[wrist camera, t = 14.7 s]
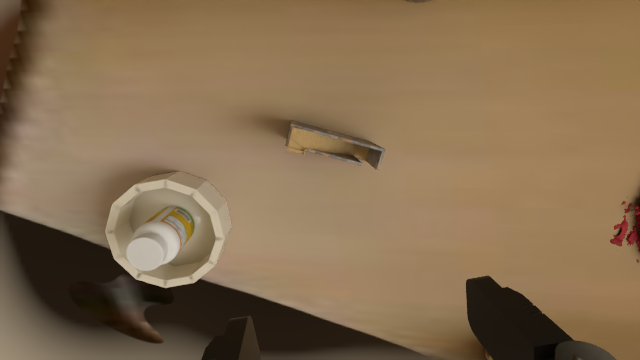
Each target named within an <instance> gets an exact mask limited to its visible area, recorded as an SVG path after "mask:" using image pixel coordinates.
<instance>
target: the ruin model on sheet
mask: <svg viewBox="0 0 640 360" xmlns="http://www.w3.org/2000/svg"><path fill="white" fill-rule="evenodd" d="M291 132H292V133H291ZM285 146H288V148H287V151H292V152H296V153H300V154H305V151H309V152H313V153H316V154H320V155H324V156H328V157H332V158H335V159H339V160H343V161H347V162H350V163H354V164H358V165H360V166H361V164H362V163H361V162H360V161H359V160H358V159H357V158H359V159H363V160H364V161H367V162H368V163H369V164H370V165H371V166H372V167H374V168H375V169H376V170H379V168H380V165H381V162H382V159H383V156H384V152H385V149H384V148H382V147H380V146H378V145H376V144H374V143H372V142H369V141H365V140H362V139H358V138H354V137H351V136H347V135H343V134H340V133H336V132H333V131H329V130H325V129H322V128H318V127H314V126H311V125H307V124H303V123H300V122H296V121H293V120H292V122H291V126H290V130H289V133H288V137H287V141H286V145H285ZM286 153H287V152H286ZM303 157H304V155H303Z"/></svg>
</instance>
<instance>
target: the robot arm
mask: <svg viewBox="0 0 640 360" xmlns="http://www.w3.org/2000/svg"><path fill="white" fill-rule="evenodd" d="M408 1H412V2H425V1H429V0H408ZM466 296H467V315H468V321H469V324H470V327H471V329H472V331H473V333H474V335H475V336H476V337H477V339H478V340H479V341H480V343H481V344H482V345H483V347H484V348H485V349H486V351H487V352H488V354H489V355H490V356H491V358H492V359H493V360H616V359H615V358H614V357H613V356H612V355H611V354H610V353H608V352H607V351H605V350H604V349H602V348H600V347H598V346H596V345H593V344H590V343H586V342H582V341H574V340H573V339H572V338H571V337H570V336H569V335H567V334H566V333H565V332H564V331H563V330H562V329H561V328H560V327H558V326H557V325H556V324H555V323H554V322H553V321H552V320H551V319H549V318H548V317H547V316H546V315H545V314H542V312H541V311H540V310H539V309H538V308H537V307H536V306H533V303H531V302H530V301H529V300H528V299H527V298H526V297H525V296H523V295H522V294H521V293H518V292H516V291H514V290H512V289H510V288H508V287H505V288H502V287H501V286H500V285H498V284H497V283H496V282H495V281H494V280H493V279H492V278H491V277H490V276H484V277H478V278H472V279H468V280H467V281H466ZM202 360H260V352H259V347H258V343H257V339H256V334H255V330H254V326H253V322H252V318H251V317H250V316H246V317H240V318H234V319H230V320H229V322H228V324H227V327H226V330H225V334H224V335H221V336H216V337H215V338H214V339H213V340H212V341H211V342H210V344H209V345H208V346H207V347H206V349H205V351H204V354H203V357H202Z"/></svg>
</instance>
